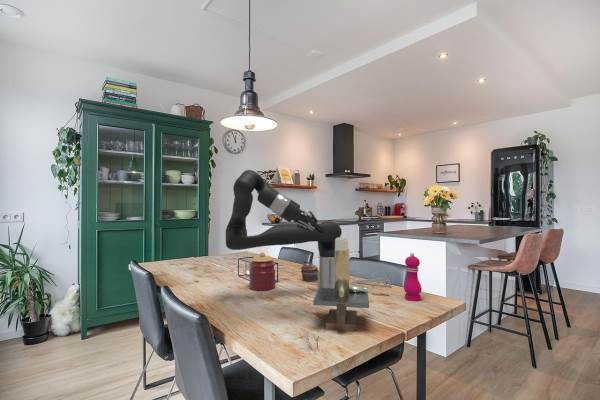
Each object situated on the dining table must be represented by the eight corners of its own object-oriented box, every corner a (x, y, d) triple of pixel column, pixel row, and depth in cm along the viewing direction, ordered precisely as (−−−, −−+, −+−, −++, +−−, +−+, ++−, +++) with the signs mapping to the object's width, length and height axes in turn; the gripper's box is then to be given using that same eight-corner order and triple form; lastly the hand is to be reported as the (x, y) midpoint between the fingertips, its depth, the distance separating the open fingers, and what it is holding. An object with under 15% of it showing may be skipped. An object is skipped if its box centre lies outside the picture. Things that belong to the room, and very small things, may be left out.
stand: (324, 332, 100) (324, 302, 100) (330, 311, 120) (330, 287, 120) (356, 334, 98) (356, 304, 99) (356, 313, 118) (356, 288, 118)
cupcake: (307, 283, 163) (307, 264, 164) (298, 279, 172) (298, 261, 172) (322, 280, 169) (322, 262, 169) (312, 277, 177) (312, 259, 177)
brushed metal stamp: (313, 305, 103) (313, 240, 103) (319, 291, 119) (319, 236, 119) (369, 308, 100) (368, 241, 100) (367, 294, 115) (367, 236, 116)
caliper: (391, 288, 154) (391, 275, 154) (390, 288, 153) (390, 275, 153) (352, 282, 165) (352, 270, 165) (351, 283, 164) (351, 271, 164)
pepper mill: (401, 296, 139) (400, 251, 139) (417, 296, 139) (416, 251, 139) (408, 301, 131) (407, 254, 132) (424, 301, 132) (424, 253, 132)
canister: (280, 285, 158) (280, 251, 159) (266, 292, 147) (266, 254, 147) (258, 283, 164) (258, 249, 164) (243, 289, 152) (243, 253, 153)
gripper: (275, 221, 119) (313, 245, 120) (284, 208, 108) (326, 235, 108) (284, 206, 123) (321, 230, 124) (294, 192, 111) (334, 219, 112)
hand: (323, 232), depth 116 cm, fingers closed
